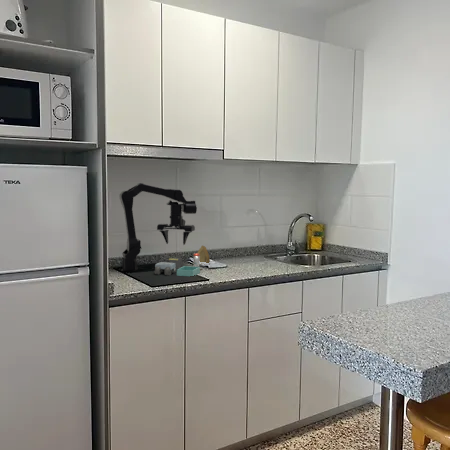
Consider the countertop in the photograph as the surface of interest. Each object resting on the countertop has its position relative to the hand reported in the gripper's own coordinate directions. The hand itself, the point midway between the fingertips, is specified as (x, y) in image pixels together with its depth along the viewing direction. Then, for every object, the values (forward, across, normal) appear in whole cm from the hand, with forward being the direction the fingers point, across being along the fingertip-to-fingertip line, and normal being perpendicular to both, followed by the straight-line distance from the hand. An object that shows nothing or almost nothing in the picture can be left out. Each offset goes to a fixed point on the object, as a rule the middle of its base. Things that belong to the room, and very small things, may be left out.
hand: (175, 244), depth 232 cm
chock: (+13, 0, 0) cm, 13 cm away
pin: (+12, -12, +2) cm, 17 cm away
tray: (+12, -12, +14) cm, 22 cm away
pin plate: (+12, -12, +2) cm, 17 cm away
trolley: (+12, -1, +16) cm, 20 cm away
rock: (+13, -9, -16) cm, 22 cm away
